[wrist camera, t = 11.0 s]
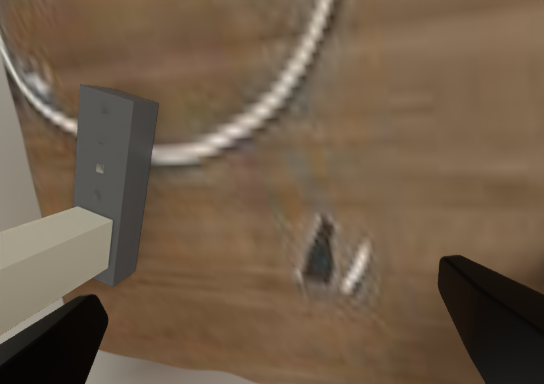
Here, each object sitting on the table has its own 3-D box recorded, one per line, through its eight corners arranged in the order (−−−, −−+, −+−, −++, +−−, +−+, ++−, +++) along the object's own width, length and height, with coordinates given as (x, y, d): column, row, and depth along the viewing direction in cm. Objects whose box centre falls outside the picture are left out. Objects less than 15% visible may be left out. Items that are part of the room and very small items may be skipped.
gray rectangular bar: (158, 103, 20) (133, 101, 18) (135, 270, 24) (112, 287, 22) (110, 88, 21) (80, 84, 18) (95, 254, 25) (69, 268, 23)
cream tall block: (113, 220, 20) (-88, 308, 11) (108, 268, 22) (-77, 385, 12) (77, 205, 21) (-145, 277, 11) (74, 253, 22) (-129, 354, 13)
